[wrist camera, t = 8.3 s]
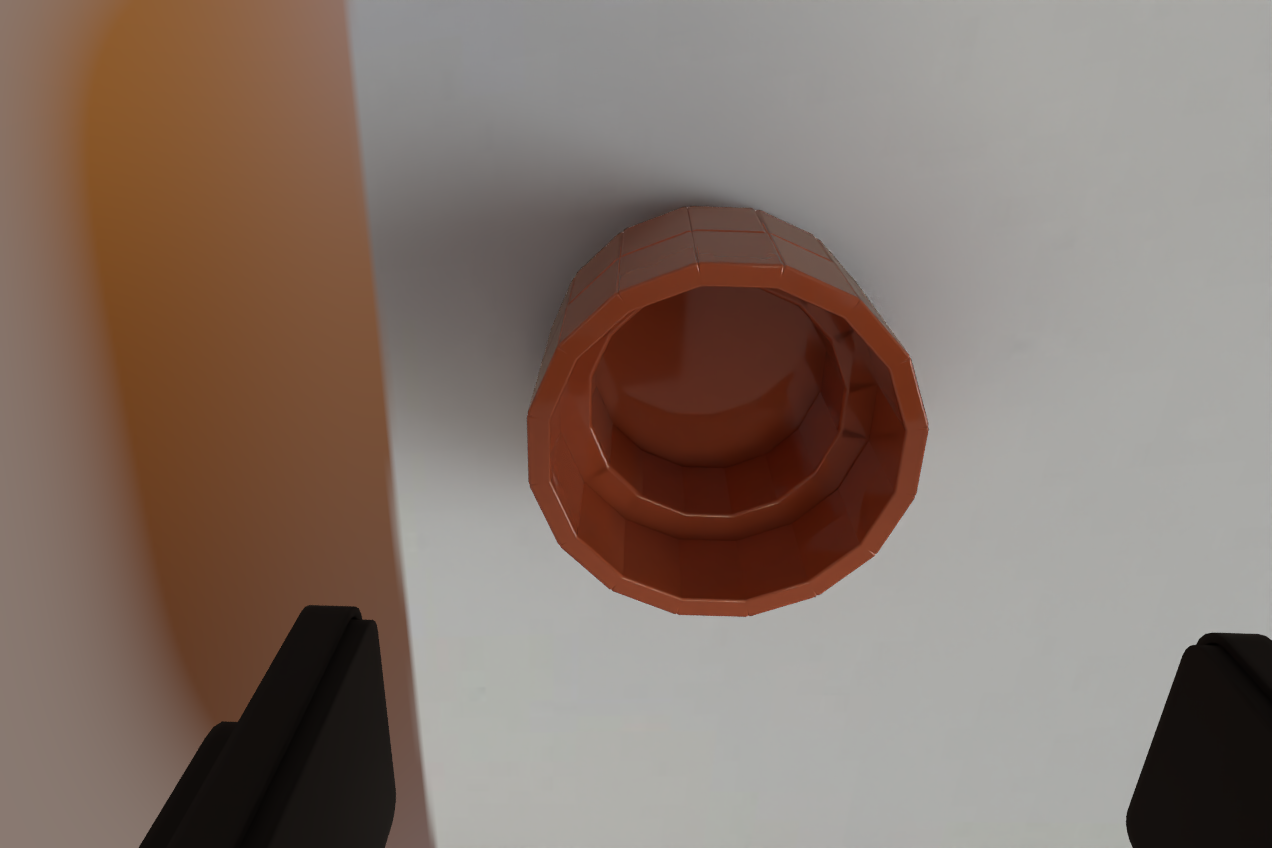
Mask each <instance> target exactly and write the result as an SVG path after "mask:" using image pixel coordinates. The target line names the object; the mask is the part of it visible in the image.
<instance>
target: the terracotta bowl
mask: <svg viewBox="0 0 1272 848" xmlns="http://www.w3.org/2000/svg"><path fill="white" fill-rule="evenodd" d="M928 430H929V428H928V420H927V416H926V412H925V409H924V405H923V401H922V397H921V394H920V390H919V386H918V382H917V378H916V375H915V371H914V367H913V363H912V360H911V358H910V357H909V354H908V352H907V351H906V350H905V348H904V347H903V346H902V344H901V343H900V341H899V340H898V339H897V337H896V336H895V335H894V333H893V332H892V330H891V329H890V328H889V326H888V325H887V324H886V322H885V321H884V319H883V318H882V317H881V315H880V314H879V313H878V312H877V310H876V309H875V307H874V306H873V305H872V303H871V302H870V300H869V299H868V298H867V296H866V295H865V294H864V292H863V291H862V289H861V288H860V287H859V285H858V284H857V283H856V281H855V280H854V279H853V278H852V277H851V275H850V274H849V273H848V272H847V271H846V270H845V268H844V267H843V266H842V265H841V264H840V263H839V261H838V260H837V259H836V258H835V257H834V256H833V254H832V253H831V252H830V251H829V250H828V249H827V248H826V246H825V245H824V244H823V243H822V242H821V241H820V240H819V239H817V238H815V237H814V236H813V234H811V233H809V232H806V231H804V230H802V229H800V228H798V227H796V226H793V225H791V224H789V223H787V222H785V221H783V220H781V219H778V218H776V217H774V216H772V215H770V214H768V213H765V212H763V211H761V210H756V211H755V210H754V209H752V208H738V207H705V206H690V207H688V208H687V207H682V208H679V209H676V210H674V211H671V212H668V213H666V214H663V215H660V216H658V217H655V218H653V219H650V220H647V221H645V222H642V223H639V224H637V225H634V226H631V227H629V228H626V229H624V230H623V232H621V233H619V234H618V235H617V236H615V237H614V238H613V239H612V240H611V241H610V242H609V243H608V244H607V245H606V246H605V247H604V248H603V249H602V250H601V251H600V252H598V253H597V254H596V255H595V256H594V257H593V258H592V259H591V260H590V261H589V262H588V263H587V264H586V265H585V266H584V267H583V268H582V269H580V270H579V271H578V272H577V274H576V276H575V278H574V279H573V280H572V281H571V283H570V286H569V288H568V290H567V293H566V295H565V297H564V300H563V302H562V304H561V307H560V309H559V311H558V314H557V316H556V318H555V321H554V323H553V325H552V328H551V330H550V334H549V337H548V341H547V345H546V348H545V352H544V356H543V359H542V364H541V366H540V369H539V373H538V377H537V380H536V384H535V388H534V391H533V395H532V399H531V402H530V406H529V410H528V415H527V443H528V481H529V484H530V488H531V490H532V492H533V494H534V496H535V498H536V500H537V502H538V504H539V506H540V508H541V510H542V512H543V514H544V516H545V518H546V520H547V522H548V524H549V526H550V528H551V530H552V532H553V534H554V537H555V539H556V541H557V543H558V544H559V545H560V546H561V548H562V549H564V550H565V551H566V552H567V553H568V554H569V555H570V556H572V557H573V558H574V559H575V560H576V561H577V562H579V563H580V564H581V565H582V566H583V567H584V568H586V569H587V570H588V571H589V572H590V573H591V574H592V575H594V576H595V577H596V578H597V579H598V580H599V581H601V582H602V583H603V584H604V585H605V586H606V587H608V588H609V589H612V591H614V592H617V593H619V594H622V595H625V596H627V597H630V598H633V599H636V600H638V601H641V602H644V603H646V604H649V605H652V606H654V607H657V608H660V609H663V610H665V611H668V612H671V613H673V614H676V613H677V614H678V615H703V616H738V617H746V616H748V615H749V616H753V615H756V614H759V613H763V612H766V611H769V610H773V609H776V608H780V607H783V606H786V605H790V604H793V603H796V602H800V601H803V600H807V599H810V598H813V597H816V595H820V594H821V593H823V592H824V591H826V590H827V589H829V588H830V587H831V586H833V585H834V584H836V583H837V582H838V581H840V580H841V579H843V578H844V577H846V576H847V575H848V574H850V573H851V572H853V571H854V570H855V569H857V568H858V567H860V566H861V565H863V564H864V563H865V562H867V561H868V560H870V559H871V558H872V557H874V556H875V554H877V553H878V551H879V550H880V548H881V547H882V545H883V544H884V542H885V541H886V540H887V538H888V537H889V535H890V534H891V532H892V531H893V529H894V528H895V526H896V525H897V523H898V522H899V520H900V519H901V517H902V516H903V514H904V513H905V511H906V510H907V509H908V507H909V506H910V504H911V503H912V501H913V500H914V498H915V495H916V493H917V488H918V482H919V477H920V472H921V467H922V462H923V456H924V451H925V446H926V441H927V435H928Z"/></svg>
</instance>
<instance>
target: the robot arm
mask: <svg viewBox="0 0 1272 848" xmlns="http://www.w3.org/2000/svg"><path fill="white" fill-rule="evenodd" d="M395 803H396V788H395V779H394V771H393V762H392V753H391V744H390V735H389V726H388V717H387V708H386V699H385V690H384V681H383V673H382V664H381V655H380V647H379V639H378V630H377V625H376V622H375V621H374V620H362V616H361V613H360V610H359V608H357V607H351V606H349V607H348V606H318V605H309V606H306V607H305V608H304V609H303V610H302V612H301V613H300V615H299V617H298V618H297V620H296V622H295V624H294V625H293V627H292V629H291V630H290V632H289V634H288V636H287V637H286V639H285V641H284V643H283V645H282V646H281V648H280V650H279V651H278V653H277V655H276V657H275V659H274V660H273V662H272V664H271V665H270V667H269V669H268V671H267V672H266V674H265V676H264V678H263V679H262V681H261V683H260V685H259V686H258V688H257V690H256V692H255V693H254V695H253V697H252V699H251V700H250V702H249V704H248V706H247V707H246V709H245V711H244V713H243V714H242V716H241V718H240V719H239V721H238V722H221V723H219V724H218V725H216V726H214V727H213V728H212V730H211V731H210V732H209V734H208V735H207V736H206V738H205V739H204V741H203V742H202V744H201V746H200V747H199V749H198V751H197V752H196V754H195V756H194V757H193V759H192V761H191V762H190V764H189V766H188V767H187V769H186V771H185V772H184V774H183V775H182V777H181V779H180V780H179V782H178V784H177V785H176V787H175V789H174V790H173V792H172V794H171V795H170V797H169V799H168V800H167V802H166V804H165V805H164V807H163V808H162V810H161V812H160V814H159V815H158V817H157V818H156V820H155V822H154V823H153V825H152V827H151V828H150V830H149V832H148V833H147V835H146V837H145V838H144V840H143V841H142V843H141V845H140V847H139V848H385V845H386V842H387V838H388V835H389V832H390V829H391V825H392V821H393V817H394V811H395ZM1126 826H1127V833H1128V836H1129V840H1130V842H1131V844H1132V847H1133V848H1272V640H1271V639H1269V638H1268V637H1266V636H1263V635H1260V634H1239V633H1208V634H1205V635H1204V636H1202V637H1201V638H1200V639H1199V641H1198V642H1197V644H1196V645H1192V646H1189V647H1188V648H1187V649H1186V650H1185V652H1184V654H1183V656H1182V659H1181V662H1180V664H1179V667H1178V670H1177V673H1176V676H1175V678H1174V681H1173V684H1172V687H1171V690H1170V693H1169V695H1168V698H1167V701H1166V704H1165V707H1164V709H1163V712H1162V715H1161V718H1160V721H1159V724H1158V726H1157V729H1156V732H1155V735H1154V738H1153V740H1152V743H1151V746H1150V749H1149V752H1148V754H1147V757H1146V760H1145V763H1144V766H1143V769H1142V771H1141V774H1140V777H1139V780H1138V783H1137V785H1136V788H1135V791H1134V794H1133V797H1132V799H1131V802H1130V805H1129V808H1128V811H1127V816H1126Z"/></svg>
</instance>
